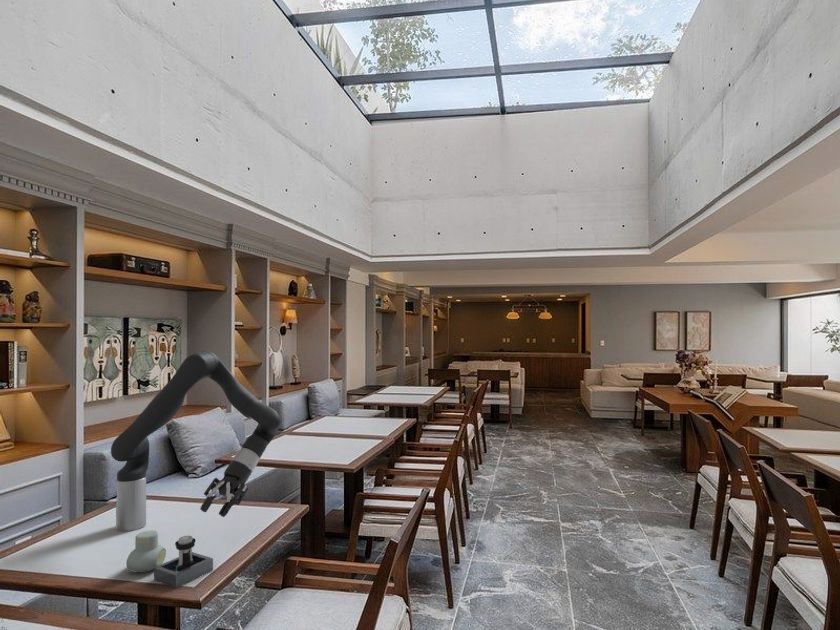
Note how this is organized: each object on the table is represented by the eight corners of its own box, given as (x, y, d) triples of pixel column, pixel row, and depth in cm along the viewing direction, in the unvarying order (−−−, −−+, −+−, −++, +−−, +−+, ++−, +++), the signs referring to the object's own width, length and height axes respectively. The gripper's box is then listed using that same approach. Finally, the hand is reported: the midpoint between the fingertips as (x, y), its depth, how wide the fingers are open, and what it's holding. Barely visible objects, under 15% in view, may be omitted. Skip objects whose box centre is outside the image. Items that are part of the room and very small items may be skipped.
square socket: (153, 580, 145) (153, 567, 145) (191, 563, 155) (191, 551, 155) (175, 588, 140) (175, 575, 140) (212, 570, 150) (212, 558, 150)
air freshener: (153, 576, 147) (153, 540, 148) (123, 577, 147) (123, 542, 147) (168, 559, 158) (168, 526, 158) (140, 560, 157) (140, 527, 158)
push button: (177, 581, 144) (177, 544, 144) (166, 576, 147) (166, 540, 147) (199, 571, 149) (199, 536, 150) (188, 567, 152) (188, 533, 152)
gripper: (220, 457, 167) (189, 503, 157) (250, 462, 160) (220, 510, 150) (233, 469, 172) (204, 515, 162) (264, 475, 165) (235, 523, 154)
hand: (211, 513), depth 156 cm, fingers open, 8 cm apart
